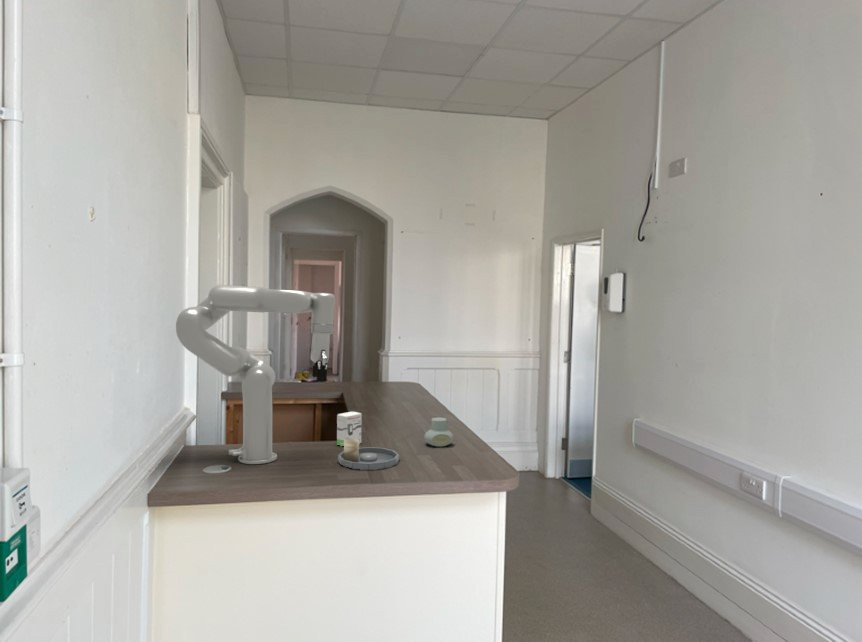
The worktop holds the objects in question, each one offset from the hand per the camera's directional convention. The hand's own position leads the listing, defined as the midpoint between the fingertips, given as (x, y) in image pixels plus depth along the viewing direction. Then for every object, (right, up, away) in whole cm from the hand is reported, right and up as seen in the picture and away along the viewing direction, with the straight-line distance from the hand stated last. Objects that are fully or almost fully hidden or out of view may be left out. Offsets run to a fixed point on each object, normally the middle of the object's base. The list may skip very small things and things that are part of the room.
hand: (319, 378), depth 200 cm
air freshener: (+41, -28, +21) cm, 54 cm away
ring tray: (+17, -28, -2) cm, 33 cm away
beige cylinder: (+12, -27, -4) cm, 30 cm away
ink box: (+8, -27, +20) cm, 34 cm away
